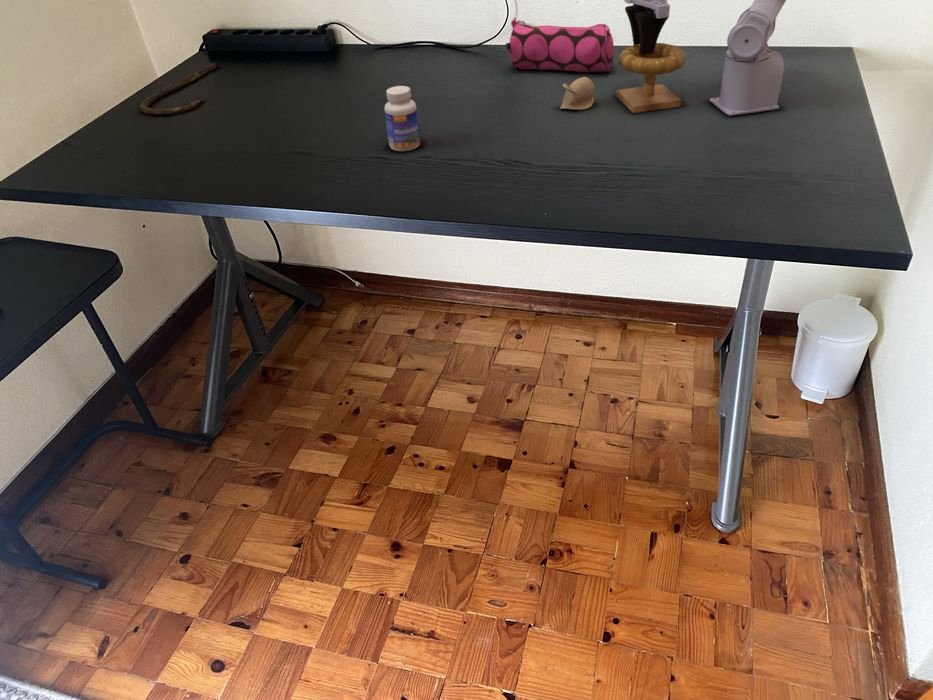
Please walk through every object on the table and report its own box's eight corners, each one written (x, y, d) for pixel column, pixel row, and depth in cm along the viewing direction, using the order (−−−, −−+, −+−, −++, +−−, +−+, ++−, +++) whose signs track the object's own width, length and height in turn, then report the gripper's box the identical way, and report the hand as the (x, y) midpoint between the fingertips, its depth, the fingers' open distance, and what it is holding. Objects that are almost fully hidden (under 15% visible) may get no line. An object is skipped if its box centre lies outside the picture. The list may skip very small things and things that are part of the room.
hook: (135, 119, 146) (132, 112, 145) (163, 73, 169) (160, 66, 168) (198, 113, 147) (196, 105, 146) (217, 67, 170) (215, 61, 169)
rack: (661, 90, 139) (664, 56, 135) (680, 106, 132) (684, 71, 128) (616, 96, 138) (618, 62, 134) (633, 113, 131) (635, 78, 127)
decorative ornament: (600, 103, 136) (602, 74, 133) (568, 116, 132) (569, 86, 129) (584, 98, 138) (585, 69, 135) (553, 111, 135) (553, 81, 131)
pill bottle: (396, 155, 124) (389, 98, 118) (384, 144, 128) (376, 88, 122) (425, 147, 126) (419, 90, 120) (413, 137, 130) (406, 81, 123)
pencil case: (505, 76, 151) (503, 25, 145) (516, 61, 158) (515, 11, 152) (608, 79, 146) (611, 26, 139) (615, 63, 153) (618, 12, 146)
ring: (668, 52, 134) (669, 37, 133) (695, 71, 126) (697, 56, 124) (610, 60, 133) (611, 45, 132) (633, 80, 124) (634, 64, 123)
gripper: (613, -39, 129) (608, 42, 137) (643, -21, 117) (636, 65, 126) (651, -43, 129) (644, 37, 138) (685, -26, 118) (675, 60, 127)
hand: (643, 50), depth 132 cm, fingers closed on ring, 3 cm apart
